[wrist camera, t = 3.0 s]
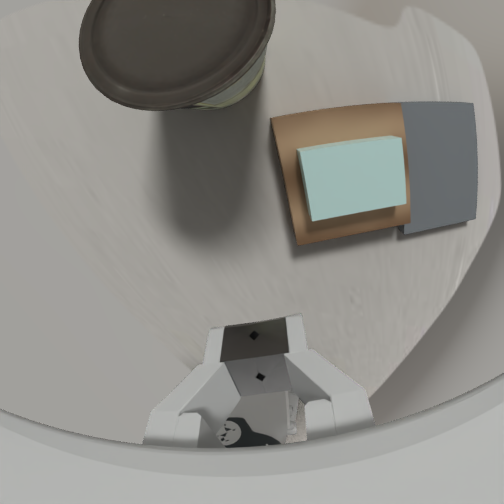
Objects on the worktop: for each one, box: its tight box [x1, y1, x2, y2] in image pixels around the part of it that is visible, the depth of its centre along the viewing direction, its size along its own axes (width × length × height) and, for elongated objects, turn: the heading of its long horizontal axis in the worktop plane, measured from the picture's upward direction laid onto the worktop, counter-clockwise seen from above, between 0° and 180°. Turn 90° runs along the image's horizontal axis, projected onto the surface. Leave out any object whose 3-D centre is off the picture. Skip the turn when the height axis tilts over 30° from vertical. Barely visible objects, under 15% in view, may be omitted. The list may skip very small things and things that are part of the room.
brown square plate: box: [270, 103, 411, 246], centre depth 25 cm, size 12×12×3 cm
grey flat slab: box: [394, 102, 478, 235], centre depth 25 cm, size 14×11×2 cm
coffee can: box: [79, 0, 276, 111], centre depth 16 cm, size 10×10×14 cm
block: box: [297, 136, 406, 221], centre depth 23 cm, size 6×9×2 cm, turn 103°
